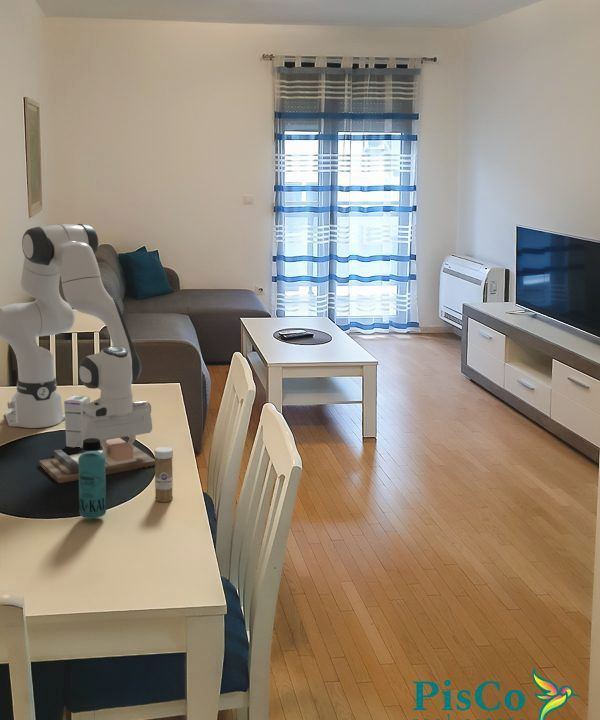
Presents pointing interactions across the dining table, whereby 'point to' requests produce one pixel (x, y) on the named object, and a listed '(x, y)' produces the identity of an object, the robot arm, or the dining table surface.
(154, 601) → the dining table surface
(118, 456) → the pink rectangular block
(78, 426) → the syrup box
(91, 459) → the beverage bottle
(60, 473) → the board
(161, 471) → the sprinkles bottle
